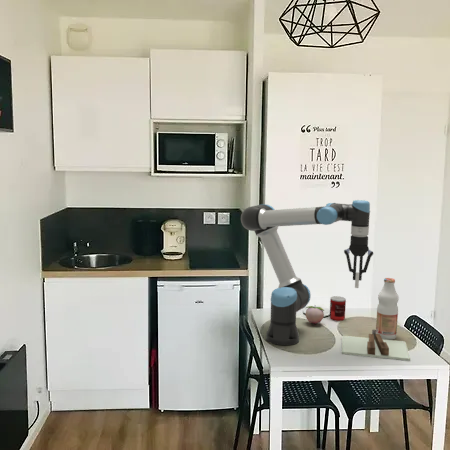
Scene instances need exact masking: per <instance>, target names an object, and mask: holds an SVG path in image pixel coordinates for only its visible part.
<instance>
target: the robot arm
mask: <svg viewBox="0 0 450 450" xmlns="http://www.w3.org/2000/svg"><path fill="white" fill-rule="evenodd" d="M370 209H371V203H370V201H368V200H366V199H363V200H359V199H357V200H356V199H355V200H353V201H352V203H351V204H347V203H336V202H328V203H326V205H324V206H316V207H315V206H311V207H302V208H301V207H299V208H284V209H275V208H274V206H272V205H269V204H265V203H261V204H258V205H253V206H248V207H246V208H245V209H244V210H243V211H242V212H241V215H240V222H241V225H242V227H243V228H244V229H246V230H247V231H250V232H254V233H255V236H256V237H257V238H260V240H261V242H262V244H263V247H264V249H265V251H266V254H267V257H268V259H269V261H270V264H271V267H272V269H273V271H274V273H275V275H276V278H277V280H278V283H279V284H278V287H276V288H275V289H274V290H272V292H271V294H270V295H271V296H270V322H269V326H268V327H267V331H266V333H265V334H266V335H265V336H266V337H265V340H266V341H267V342H268V343H271V344H273V345H276V346H277V345H278V346H291V345H295V344H297V343H299V342H300V334H299V330H298V327H297V324H296V323H297V313H298V312H299V311H301V310H302V309H304V308H306V307H307V306H308V304H309V303H310V301H311V295H312V294H311V290H310V288H309V287H308V286H307V285H305V284H304V283H303V281H302V279H301V278H300V277H298V276H297V275H296V273H295V271H294V269H293V265H292V263H291V261H290V259H289V257H288V254H287V251H286V249H285V247H284V244H283V242H282V240H281V238H280V235H279V233H278V229H279V227H292V226H308V225H324V226H327V225H332V224H334V223H337V222H339V221H341V222H342V221H343V222H351V227H350V234H351V235H350V240H349V241H350V245H349V246H348V248H347V249H344V250H343V253H344V254H345V256H346V263H347V266H348V271H349V272H350V273H352V281H354V288H355V289H359V286H360V283H359V282H360V281H362V280H363V279H362V277H363V274H364V273H367V270H368V267H369V264H370V261H371V258H372V256H373V255H374V251H372V250H371V249H370V248H369V246H368V245H369V234H370V233H369V231H370V230H369V229H370V217H371V216H370V213H371V210H370ZM350 253H351V255H352V256H353V264H352V262H351V257H350ZM366 254H367V257H366V261H365V263H364V266H363V261H364V256H365V255H366ZM358 257H359V265H358V271H357V260H358V259H357V258H358ZM352 265H353V266H352Z"/></svg>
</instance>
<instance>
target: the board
mask: <svg viewBox="0 0 450 450" xmlns="http://www.w3.org/2000/svg"><path fill="white" fill-rule="evenodd" d="M341 340H342V343H341V345H342V347H341V354H342V355H347V356H348V355H349V356H360V357H369V358H370V357H371V358H378V359H379V358H380V359H389V360H396V361H408V362H411V357H410V353H409V349H408V346H407V343H406V341H405V340H404V341H403V340H395V339H392V340H386V339H382V340H383V342H386V343H387V345H388V347H389V355H381V353H380V350H379V348H378V346H377V344H376V341H375V340H374V342H375V355H372V354H368V352H367V341H368V342H369V337H363V336H362V337H361V336H354V335H353V336H351V335H342V339H341Z"/></svg>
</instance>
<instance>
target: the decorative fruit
mask: <svg viewBox="0 0 450 450" xmlns="http://www.w3.org/2000/svg"><path fill="white" fill-rule="evenodd" d="M305 309H306V311H305V315H304V316H305V318H306V320H307V321H308V322H309V323H311V324H314V325H315V324H318V323H320V322H322V321H323V319H324V315H325V312H324V311H325V309H324V308H322V307H320V306H313V305H309V306H308V305H307V306H305Z"/></svg>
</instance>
